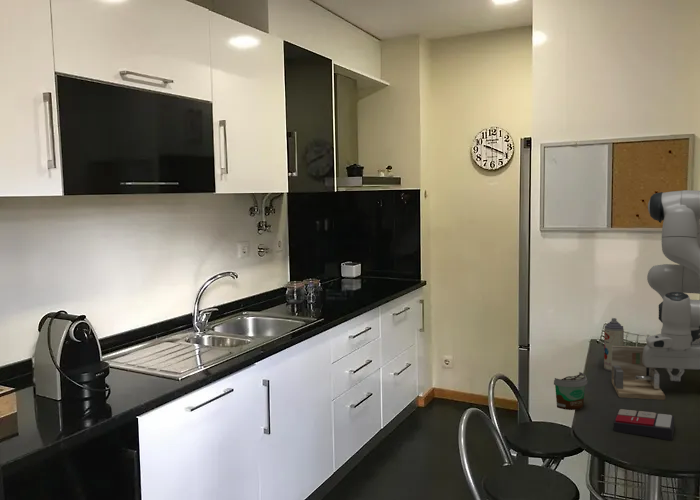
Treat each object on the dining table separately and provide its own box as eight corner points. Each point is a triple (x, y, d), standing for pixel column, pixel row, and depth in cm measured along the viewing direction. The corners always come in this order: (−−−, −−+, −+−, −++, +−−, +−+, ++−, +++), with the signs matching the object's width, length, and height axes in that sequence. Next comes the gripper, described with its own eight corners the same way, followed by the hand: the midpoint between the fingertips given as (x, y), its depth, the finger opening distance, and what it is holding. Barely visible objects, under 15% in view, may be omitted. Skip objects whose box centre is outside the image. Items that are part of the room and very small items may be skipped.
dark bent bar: (645, 379, 210) (645, 352, 209) (650, 379, 209) (650, 352, 208) (646, 382, 207) (647, 354, 206) (651, 382, 206) (652, 354, 205)
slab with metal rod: (632, 380, 210) (632, 366, 209) (653, 381, 208) (653, 367, 207) (637, 387, 202) (637, 373, 201) (659, 388, 200) (659, 374, 199)
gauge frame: (611, 382, 214) (611, 345, 213) (654, 384, 210) (654, 347, 209) (618, 397, 199) (619, 358, 198) (665, 399, 195) (665, 359, 194)
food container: (568, 414, 186) (568, 383, 185) (553, 408, 191) (553, 378, 190) (595, 406, 192) (596, 376, 191) (580, 400, 197) (580, 371, 196)
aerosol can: (602, 366, 233) (603, 316, 231) (621, 367, 231) (621, 316, 229) (605, 371, 226) (606, 320, 224) (625, 372, 225) (625, 320, 223)
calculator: (618, 407, 181) (674, 413, 173) (618, 421, 182) (674, 427, 174) (613, 419, 172) (671, 426, 164) (613, 434, 172) (672, 441, 164)
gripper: (707, 339, 200) (706, 379, 201) (641, 337, 205) (640, 376, 207) (713, 344, 194) (712, 385, 195) (645, 342, 199) (644, 382, 201)
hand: (675, 380), depth 201 cm, fingers closed
